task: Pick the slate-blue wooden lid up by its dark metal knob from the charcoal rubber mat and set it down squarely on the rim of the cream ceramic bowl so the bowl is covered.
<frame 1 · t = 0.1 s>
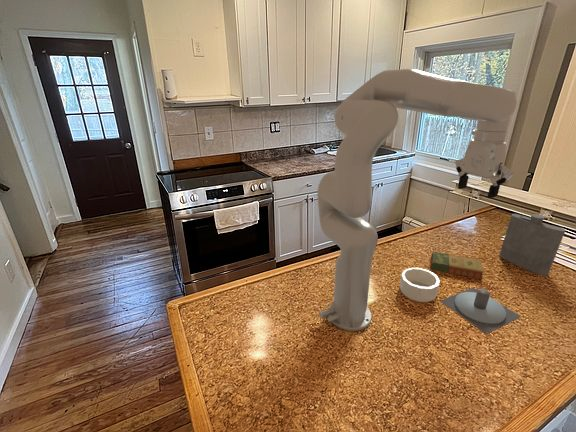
hand: (476, 192, 93), 31 cm above the counter, tool pointing down, fingers open, 9 cm apart
hip flask: (521, 265, 111), on the counter
lid: (479, 308, 90), point 1 cm above the counter, touching mat
mat: (478, 310, 90), on the counter
carton: (454, 270, 110), on the counter
bowl: (417, 292, 98), on the counter
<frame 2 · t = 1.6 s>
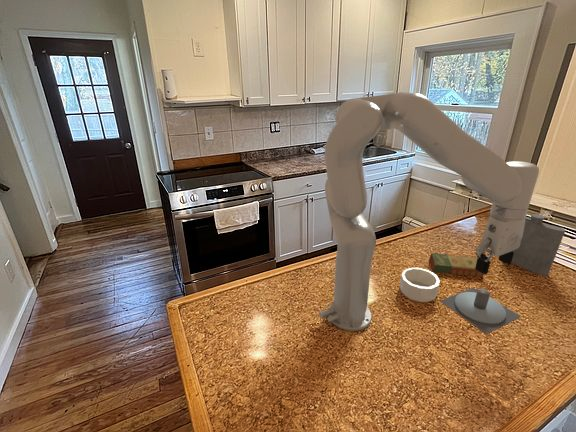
hand: (492, 266, 84), 15 cm above the counter, tool pointing down, fingers open, 9 cm apart
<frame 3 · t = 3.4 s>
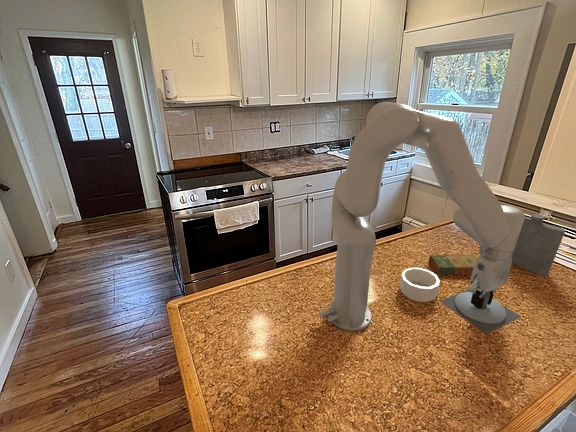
hand: (480, 303, 89), 3 cm above the counter, tool pointing down, fingers closed on lid, 3 cm apart
lid: (479, 308, 90), point 1 cm above the counter, touching gripper, mat
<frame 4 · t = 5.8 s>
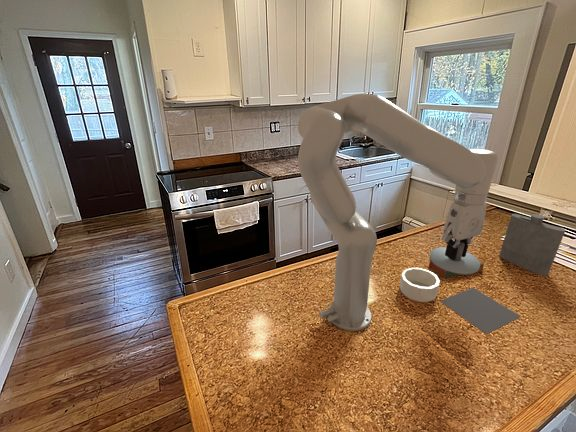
hand: (454, 255, 88), 17 cm above the counter, tool pointing down, fingers closed on lid, 3 cm apart
lid: (453, 261, 88), point 15 cm above the counter, touching gripper
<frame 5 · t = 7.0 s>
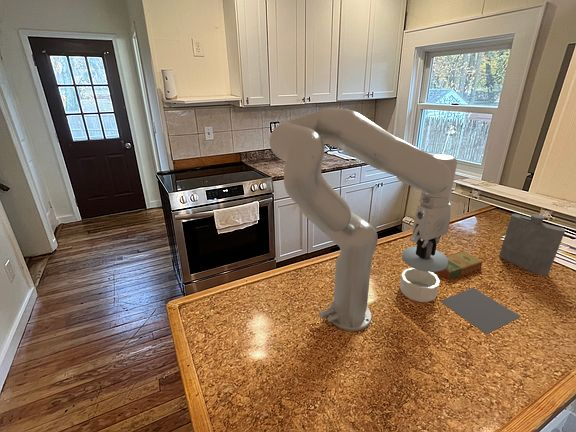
hand: (425, 254, 93), 14 cm above the counter, tool pointing down, fingers closed on lid, 3 cm apart
lid: (424, 259, 93), point 13 cm above the counter, touching gripper
when the fingers open (9 cm above the counter, at t = 8.1 s): lid stays where it is, resting on bowl.
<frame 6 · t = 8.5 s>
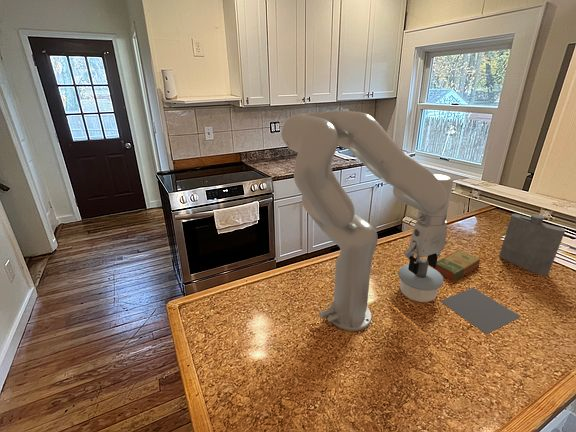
hand: (422, 268, 95), 9 cm above the counter, tool pointing down, fingers open, 7 cm apart
lid: (420, 277, 96), point 6 cm above the counter, touching bowl
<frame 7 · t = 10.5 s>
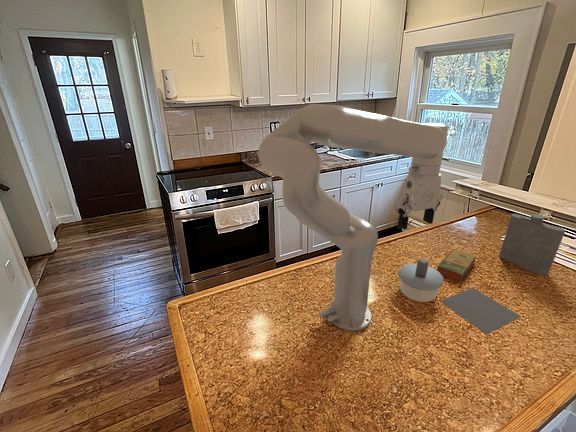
hand: (415, 224, 91), 24 cm above the counter, tool pointing down, fingers open, 9 cm apart
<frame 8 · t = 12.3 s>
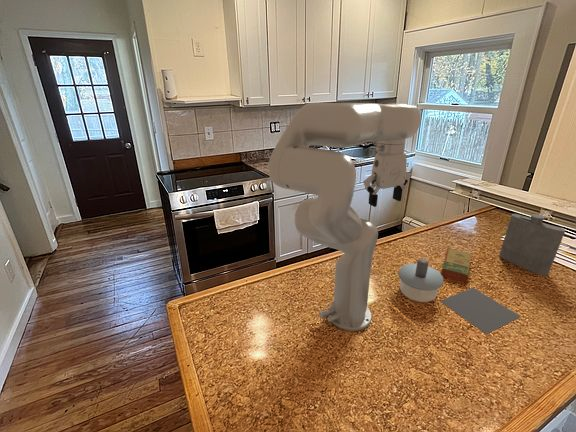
hand: (384, 202, 96), 28 cm above the counter, tool pointing down, fingers open, 9 cm apart
at the end: lid 0.0 cm off-centre on the bowl, point 6.0 cm above the bowl's base; lid tilted 0°; the gripper is holding nothing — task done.
